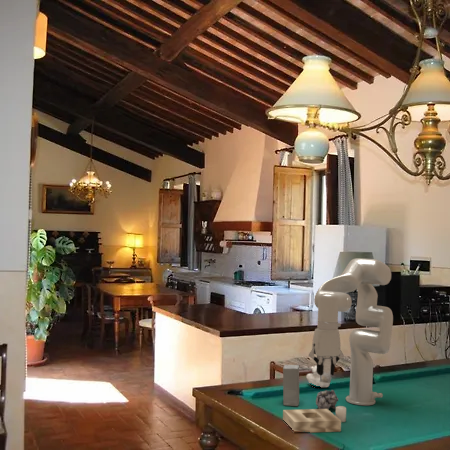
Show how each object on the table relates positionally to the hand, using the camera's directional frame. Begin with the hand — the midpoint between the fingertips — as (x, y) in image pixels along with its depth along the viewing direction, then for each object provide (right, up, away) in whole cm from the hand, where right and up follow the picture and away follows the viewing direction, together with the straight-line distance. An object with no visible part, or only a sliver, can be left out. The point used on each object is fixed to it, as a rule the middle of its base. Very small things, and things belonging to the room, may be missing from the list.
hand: (325, 373), depth 220 cm
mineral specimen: (+4, -20, +20) cm, 29 cm away
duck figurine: (+6, -21, +55) cm, 59 cm away
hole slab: (-5, -19, 0) cm, 20 cm away
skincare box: (-10, -20, +27) cm, 35 cm away
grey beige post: (0, -3, 0) cm, 3 cm away
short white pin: (+7, -20, +7) cm, 23 cm away
